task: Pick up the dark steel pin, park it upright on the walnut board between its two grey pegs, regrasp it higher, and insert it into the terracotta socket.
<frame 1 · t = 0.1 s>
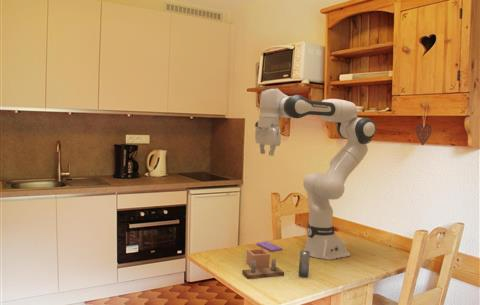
hand: (266, 154, 181), 48 cm above the table, fingers open, 8 cm apart
peg board: (263, 274, 164), on the table
steel pin: (303, 275, 165), on the table
socket: (257, 265, 175), on the table
sponges: (269, 249, 202), on the table
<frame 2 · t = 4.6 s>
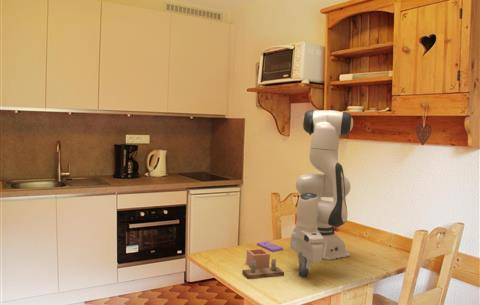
hand: (304, 266, 165), 4 cm above the table, fingers closed on steel pin, 4 cm apart
steel pin: (303, 275, 165), on the table, touching gripper
everything else where it was.
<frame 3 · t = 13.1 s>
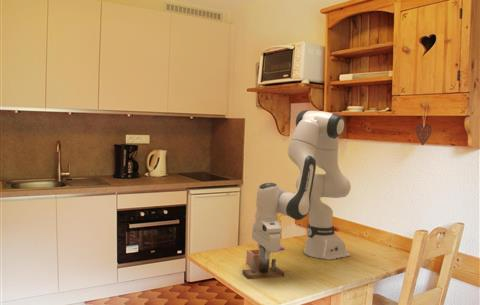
hand: (264, 256, 164), 8 cm above the table, fingers closed on steel pin, 4 cm apart
steel pin: (263, 270, 164), point 2 cm above the table, touching gripper, peg board
when the fingers open (8 cm above the table, at t = 20.5 s): steel pin drops 1 cm, resting on socket.
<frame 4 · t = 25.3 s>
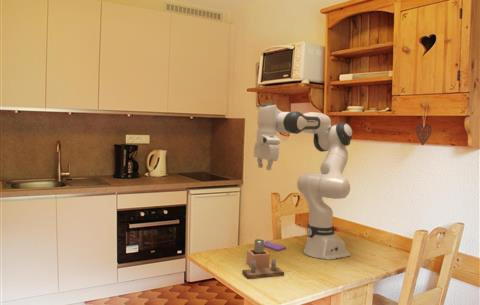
hand: (264, 168, 185), 41 cm above the table, fingers open, 8 cm apart
steel pin: (257, 263, 175), point 1 cm above the table, touching socket
at the end: steel pin 0.2 cm off-centre on the socket, point 1.0 cm above the socket's base; steel pin tilted 1°; the gripper is holding nothing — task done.
